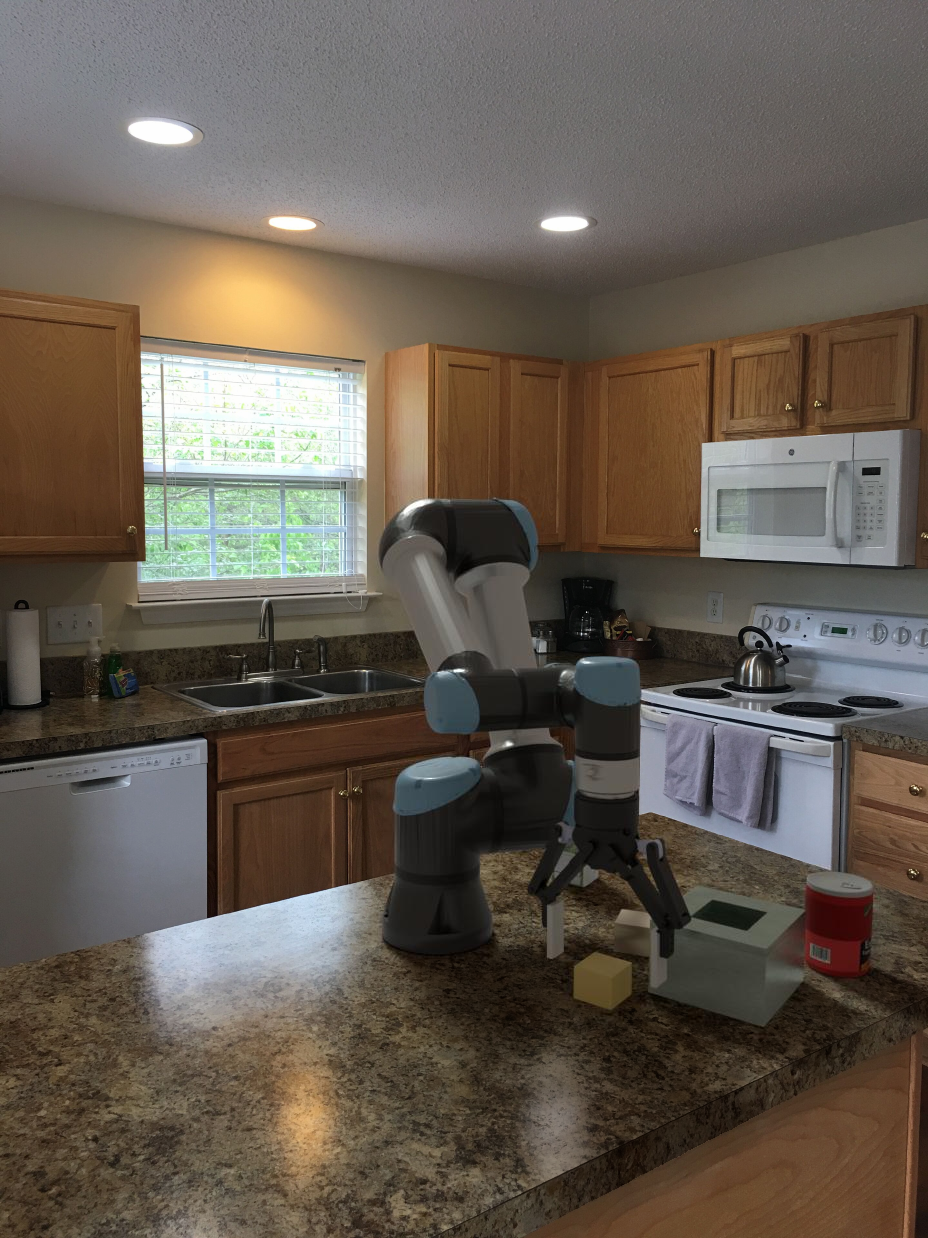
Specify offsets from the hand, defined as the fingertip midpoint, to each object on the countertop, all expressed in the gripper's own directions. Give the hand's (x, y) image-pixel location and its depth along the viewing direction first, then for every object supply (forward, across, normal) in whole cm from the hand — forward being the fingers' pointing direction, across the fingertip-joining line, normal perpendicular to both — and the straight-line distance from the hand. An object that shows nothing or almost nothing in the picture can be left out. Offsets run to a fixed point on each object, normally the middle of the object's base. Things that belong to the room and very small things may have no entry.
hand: (605, 969), depth 118 cm
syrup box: (+3, -22, +32) cm, 40 cm away
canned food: (+4, +20, +25) cm, 32 cm away
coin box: (+4, +10, +11) cm, 16 cm away
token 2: (+3, -4, +15) cm, 16 cm away
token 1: (+4, 0, 0) cm, 4 cm away
